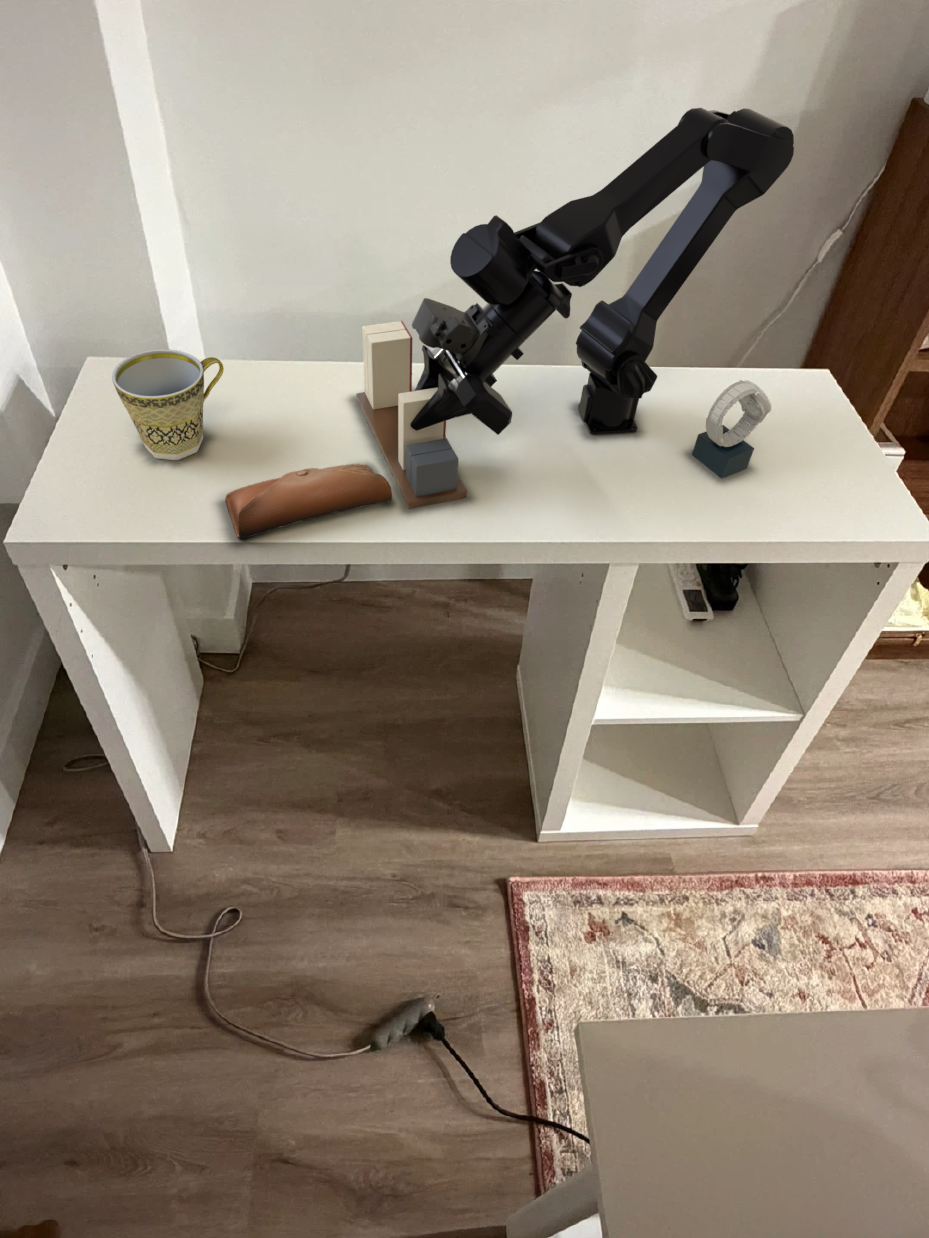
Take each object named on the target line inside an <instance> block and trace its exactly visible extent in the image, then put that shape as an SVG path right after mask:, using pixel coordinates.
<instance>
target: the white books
mask: <svg viewBox="0 0 929 1238" xmlns="http://www.w3.org/2000/svg"><path fill="white" fill-rule="evenodd" d="M361 327H362V355H363V356H362V357H363V358H362V361H363V385H364V386H363V387H364V392H365V394H366V396H367V398H368V400H369V402H370V404H371V406H372V408H373V409H380V408H386V407H392V406H398V394H399V393H405V392H412V391H413V336H412V334H411V333H410V331H409V330H408V328H407V326H406V324H405V322H404V321H403V320H400V321H399V320H398V321H391V322H384V323H377V324H376V323H375V324H370V325H363V326H361Z"/></svg>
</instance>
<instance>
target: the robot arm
mask: <svg viewBox="0 0 929 1238" xmlns="http://www.w3.org/2000/svg"><path fill="white" fill-rule="evenodd" d="M794 144H795V137H794V133H793V130H792V128H790V127H788V126H786V125H784V124H783V123H780V122H778V121H776V120H773V119H772V118H770V117H768V116H765V115H763V114H761V113H759V112H757V111H754V110H752V109H751V108H741V109H739V110H737V111H736V110H733V111H732V112H730V113H727V112H722V111H718V110H712V109H711V110H707V109H705V108H703V107H696V108H690V109H688V110H686V112H684V113H683V114H682V116H681V118H680V119H679V121H678V123H677V124H676V126H675V127H674V128H672V129H671V130H670V131H669V132H668V133H667V134H665V135H664V136H663V137H662V138H661V139H660V140H659V141H657V142H656V143H654V145H652V146H651V147H650V148H649V149H648V150H647V151H645V152H644V153H643V154H642V155H641V156H639V157H638V158H637V159H635V161H633V163H631V164H630V165H629V166H628V167H626V168H625V169H624V170H622V171H621V173H619V174H618V175H617V176H616V177H615V178H613V180H611V181H610V182H609V183H608V184H607V185H605V186H604V187H603V188H601V189H600V190H599V191H597V192H596V193H594V194H592V195H589V196H585V197H580V198H577V199H572V200H570V201H567V202H566V203H564V204H563V205H562V206H560V207H558V208H557V209H556V210H554V211H552V212H551V213H549V214H548V215H546V216H545V217H544V218H543V219H542V220H541V221H539V222H537V223H535V224H532V225H529V226H527V227H525V228H522V229H519V230H517V231H514V229H513V228H512V226H511V225H510V224H508V222H506V221H505V220H504V219H502V218H501V217H500V216H498V215H496V214H495V215H493V216H492V217H491V219H490V220H489V222H488V223H483V224H482V223H481V224H477V225H475V226H473V227H471V228H470V229H468V230H467V231H466V232H462V234H460V236H459V237H458V238H457V240H456V241H455V243H454V245H453V247H452V250H451V254H450V258H449V259H450V261H449V264H450V269H451V270H452V272H453V273H454V274H455V275H456V276H457V277H458V278H459V279H460V280H461V281H462V282H464V283H465V284H466V285H467V286H468V287H469V289H471V290H473V292H474V293H476V294H477V295H478V296H479V297H480V298H481V299H482V300H483V301H484V302H486V304H485V306H483V307H482V306H481V305H480V304H479V303H478V302H476V303H475V304H471V305H470V306H469V307H468V308H467V309H466V310H465V311H462V310H460V309H458V308H456V307H454V306H452V305H449V304H445V303H442V302H440V301H437V300H434V299H431V298H428V297H424V298H423V299H422V301H421V304H420V305H419V307H418V310H417V312H416V313H415V315H414V318H413V320H412V322H411V328H412V329H413V330H415V331H416V333H417V334H418V339H419V341H420V342H421V343H422V346H421V351H422V353H423V370H422V372H421V375H420V377H419V380H418V381H417V385H416V387H415V388H414V390H413V391H418V390H425V389H431V388H438V389H437V391H436V392H435V394H434V395H433V396H432V397H431V398H430V400H429V401H428V402H427V403H426V404H425V406H424V407H423V408H422V409H421V410H420V411H419V413H418V414H417V415H416V417H415V418H414V419H413V421H412V422H411V424H410V426H411V427H412V428H413V429H414V430H416V431H417V430H420V429H423V428H426V427H429V426H432V425H435V424H437V423H440V422H443V421H446V422H447V421H449V420H452V419H455V418H460V417H463V416H467V415H471V416H473V417H474V418H475V419H477V420H478V421H480V422H481V423H482V424H483V425H484V426H486V427H487V428H488V429H490V430H491V431H492V432H493V433H495V434H496V435H497V436H499V435H500V434H501V433H502V432H503V431H504V430H506V429H507V427H508V426H509V425H511V423H512V419H513V411H512V410H511V408H510V407H509V404H508V403H507V402H506V401H505V399H504V398H503V397H502V395H501V394H500V393H499V392H498V391H496V390H495V389H494V388H493V386H494V384H496V383H497V382H498V380H497V378H496V376H495V374H494V373H495V372H496V371H498V369H500V367H501V366H502V365H504V363H505V362H506V361H508V359H509V358H510V357H511V356H512V357H513V358H514V359H515V360H516V361H519V360H520V358H521V357H523V355H524V352H523V351H522V350H521V348H520V347H521V346H522V345H523V344H524V343H525V342H526V341H528V339H529V338H530V337H531V336H532V335H533V334H534V333H535V332H536V331H537V330H538V329H539V328H540V327H541V326H542V325H543V324H544V323H545V322H546V321H547V320H548V319H549V318H550V317H551V316H552V315H553V314H554V313H555V312H556V311H557V312H558V313H559V315H560V316H562V317H563V319H568V318H570V317H571V300H572V297H573V293H572V291H570V290H569V288H568V287H567V286H566V285H568V286H569V287H578V288H582V287H585V286H586V285H588V284H589V283H591V282H592V281H593V280H595V279H596V277H597V276H598V275H599V274H600V273H601V272H602V271H603V270H604V269H605V268H606V266H608V265H609V264H610V262H611V261H612V260H613V259H614V258H615V257H616V255H617V252H618V250H619V246H620V244H621V242H622V239H623V237H624V236H625V235H626V233H627V232H629V230H631V229H632V228H633V227H634V226H635V225H636V224H637V223H639V222H640V221H641V220H642V219H643V218H645V217H646V216H647V215H648V214H649V213H650V212H652V211H653V210H654V209H655V208H656V207H657V206H659V205H660V204H661V203H662V202H663V201H665V199H667V198H668V197H669V196H670V195H672V193H674V192H675V191H676V190H678V189H679V188H680V187H681V186H682V185H684V183H686V182H687V181H688V180H689V179H691V178H692V177H693V176H694V175H695V174H697V173H698V172H699V171H700V170H702V175H701V182H700V184H699V186H698V187H697V189H696V190H695V192H694V193H693V195H692V196H691V197H690V199H689V200H688V202H686V205H685V206H684V208H683V209H682V211H681V212H680V214H679V215H678V216H677V218H676V220H675V221H674V222H673V224H672V225H671V227H670V228H669V230H668V231H667V232H666V234H665V236H663V238H662V240H661V241H660V242H659V244H658V245H657V247H656V248H655V250H654V251H653V253H652V254H651V256H650V257H649V259H648V260H647V262H646V263H645V264H644V265H643V267H642V269H641V270H640V271H639V273H638V274H637V276H636V277H635V279H634V280H633V282H632V283H631V284H630V286H629V287H628V289H627V290H626V292H625V293H624V295H622V297H619V298H617V299H615V300H614V301H612V302H610V303H607V302H606V301H604V300H600V301H598V302H597V303H596V304H595V306H594V307H593V310H592V311H591V313H590V315H589V316H588V318H587V319H586V320H585V321H584V322H583V323H582V324H581V325H580V326H579V329H580V332H579V334H578V336H577V339H576V341H575V345H576V355H577V357H578V359H580V361H581V367H582V368H583V369H585V370H587V371H588V372H589V374H588V378H587V383H586V384H584V385H583V386H582V390H581V396H580V401H579V403H578V406H577V409H578V413H579V415H580V417H581V420H582V422H583V423H584V424H585V427H586V428H587V431H588V433H589V434H590V435H592V436H593V435H594V436H596V435H611V434H626V433H628V434H629V433H637V432H638V425H637V423H636V421H635V418H636V414H637V410H638V406H639V402H640V399H642V398H643V395H644V394H647V393H648V392H649V393H650V392H651V390H652V389H653V386H654V385H655V383H656V381H657V379H658V374H657V373H656V372H655V371H654V370H653V369H652V368H651V367H650V366H649V364H648V363H647V362H646V361H647V359H648V357H649V356H650V354H651V352H652V351H653V349H654V345H655V337H656V330H657V323H658V321H659V319H660V317H661V316H662V315H663V313H664V312H665V310H666V309H667V307H668V306H669V304H670V303H671V302H672V301H673V299H674V298H675V296H676V295H677V293H678V292H679V291H680V290H681V288H682V287H683V285H684V284H685V282H686V281H687V279H688V278H689V277H690V276H691V274H692V273H693V271H694V270H695V268H696V267H697V265H699V263H700V261H701V260H702V258H704V256H705V254H706V253H707V251H708V250H709V249H710V247H711V246H712V244H713V243H714V242H715V240H716V239H717V238H718V236H719V235H720V234H721V232H722V230H723V229H724V228H725V226H726V225H727V223H728V222H729V220H730V219H731V218H732V217H733V215H734V214H735V213H736V212H737V211H738V209H740V208H742V207H744V206H746V205H747V204H750V203H751V202H753V201H754V200H757V199H758V198H760V197H762V196H763V195H765V194H766V193H767V192H768V191H769V189H770V188H771V187H772V186H773V185H774V184H775V182H776V181H777V180H778V179H779V178H780V177H781V176H782V175H783V173H784V172H785V171H786V170H787V169H788V167H789V166H790V163H791V162H792V160H793V157H794V155H795V154H794V153H795V147H794ZM702 168H703V169H702ZM565 284H566V285H565ZM423 344H424V345H423Z"/></svg>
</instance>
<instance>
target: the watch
mask: <svg viewBox="0 0 929 1238" xmlns="http://www.w3.org/2000/svg"><path fill="white" fill-rule="evenodd" d="M737 403H739V404H740V407H741V411H742V412H743V414H742V416H741V417H740V418H739V419H738V421H737V422H736V423H735V424H734V426H732V427H731V428H728V427H727V426H726V425H724V424H723V420H724V417H726V415H727V414H728V411H730V410H731V408H732V407H734V405H736V404H737ZM708 411H709V412H708V414H707V417H706V418H705V431H703V432H701V433H698V434H697V437H696V440H695V443H694V446H693V450H692V453H691V455H692V456H693V457H694V458H696V460H698V461H699V462H700V463H702V464H703V465H704V466H706V468H708V469H709V470H710V471H711V472H713V473H714V474H715V475H717V477H719V478H720V479H725V478H728V477H731V476H733V475H734V474H737V473H739V472H741V471H745V470H746V469H748V466H749V463H750V460H751V458H752V456H753V453H754V450H755V447H753V446H752V445H750V444H749V443H748V442H747V441H745V439H746V438H747V437H749V436H750V435H751V434H752V432H753V431H754V430H755V429H756V428H757V426H758V425H759V424H761V423H763V421H764V420H765V418H766V416H767V415H768V414H770V412H771V411H772V404H771V401H770V399H769V398H768V396H767V395H766V393H765V392H764V390H763V389H761V387H759V386H758V385H757V384H756V383H754V382H753V381H750V380H748V379H747V380H742V379H739V381H737V382H734V383H732V384H730V385H729V386H728V387H726V388H725V389H724V390H723V391H722V392H721V393H720V394H719V396H718V397H717V398H716V399H715V401H714V402H713V404H712V406H711V408H710V409H709V410H708Z"/></svg>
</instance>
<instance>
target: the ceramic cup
mask: <svg viewBox="0 0 929 1238" xmlns="http://www.w3.org/2000/svg"><path fill="white" fill-rule="evenodd" d="M214 364H218V371H217V373H216V375H215V376H214V378H213V379H212V380H211V381H210V383H209V384H208V386H207V387H206V389H205V372H206V371H207V369H208V368H209V367H211V366H213V365H214ZM223 374H224V365H223V363H222V361H221V360H220V359H218V358H217V357H211V356H210V357H205V358H204V359H203V360H201V361H200V360H199V359H198V358H197V357H195V356H194V355H192V354H190V353H188V352H185V351H182V350H177V349H169V348H167V349H165V348H163V349H160V348H159V349H150V350H146V351H145V350H144V351H141V352H138V353H135V354H132V355H131V356H128V357H127V358H124V359H123V360H122V361H121V362H119V363H118V364H117V365H116V367H115V368H114V370H113V372H112V374H111V380H112V383H113V386H114V389H115V390H116V392H117V395H118V397H119V399H120V401H121V403H122V405H123V407H124V408H125V410H126V411H127V413H128V415H129V418H130V419H131V421H132V423H133V425H134V428H135V429H136V431H137V433H138V436H139V437H140V439H141V442H142V444H143V445H144V447H145V449H146V450H147V451H148V452H149V453H150V454H151V455H152V456H153V457H154V458H155V459H158V460H168V461H169V460H170V461H180V460H182V459H185V458H187V457H190V456H192V455H194V454H197V452H199V449H200V447H201V445H202V442H203V440H204V403H205V400H207V398H208V397H209V395H210V393H211V392H212V390H213V388H214V387H215V385H216V384H217V383H218V382H219V380H220V379H221V378H222V376H223Z"/></svg>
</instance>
